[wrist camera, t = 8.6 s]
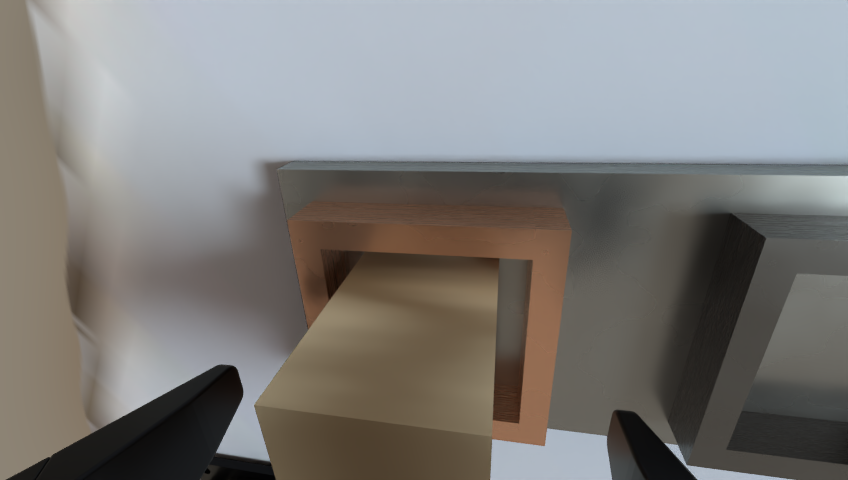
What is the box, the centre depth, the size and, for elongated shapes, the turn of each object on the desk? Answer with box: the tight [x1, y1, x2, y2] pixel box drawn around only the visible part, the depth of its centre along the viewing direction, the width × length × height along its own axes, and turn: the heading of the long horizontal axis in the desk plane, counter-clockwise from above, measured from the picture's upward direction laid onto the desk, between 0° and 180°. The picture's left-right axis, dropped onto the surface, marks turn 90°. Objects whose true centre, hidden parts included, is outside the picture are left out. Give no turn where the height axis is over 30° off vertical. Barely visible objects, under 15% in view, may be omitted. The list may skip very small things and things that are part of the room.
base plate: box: [277, 161, 848, 480], centre depth 11 cm, size 20×9×2 cm, turn 92°
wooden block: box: [254, 251, 499, 480], centre depth 10 cm, size 4×4×6 cm
